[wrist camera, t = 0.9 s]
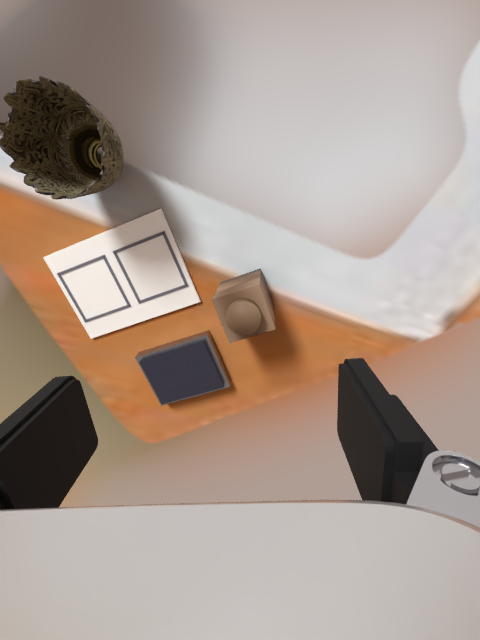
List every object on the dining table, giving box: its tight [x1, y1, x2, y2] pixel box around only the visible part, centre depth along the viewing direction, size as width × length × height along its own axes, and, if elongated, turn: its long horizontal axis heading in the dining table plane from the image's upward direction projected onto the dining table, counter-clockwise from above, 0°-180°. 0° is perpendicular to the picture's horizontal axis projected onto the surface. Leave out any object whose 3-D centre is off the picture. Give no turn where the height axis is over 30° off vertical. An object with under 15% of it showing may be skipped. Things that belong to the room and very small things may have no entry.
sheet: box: [43, 209, 201, 339], centre depth 33 cm, size 14×10×1 cm
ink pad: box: [135, 331, 231, 406], centre depth 35 cm, size 9×7×2 cm
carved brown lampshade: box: [0, 76, 123, 199], centre depth 25 cm, size 8×7×8 cm
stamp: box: [212, 269, 275, 343], centre depth 29 cm, size 4×4×7 cm
